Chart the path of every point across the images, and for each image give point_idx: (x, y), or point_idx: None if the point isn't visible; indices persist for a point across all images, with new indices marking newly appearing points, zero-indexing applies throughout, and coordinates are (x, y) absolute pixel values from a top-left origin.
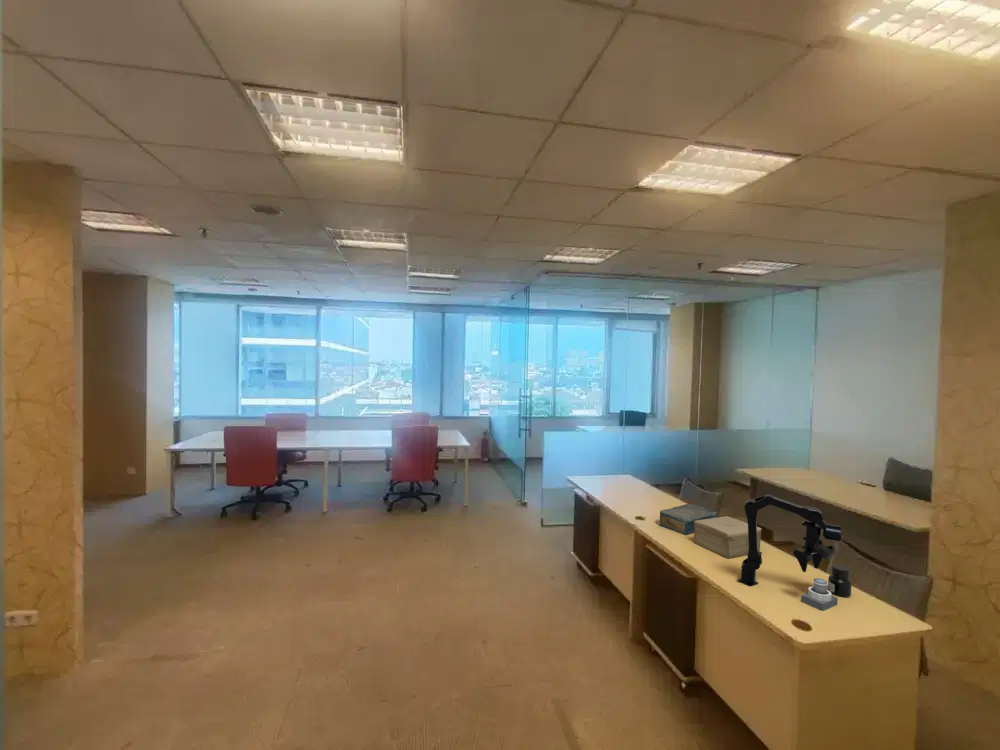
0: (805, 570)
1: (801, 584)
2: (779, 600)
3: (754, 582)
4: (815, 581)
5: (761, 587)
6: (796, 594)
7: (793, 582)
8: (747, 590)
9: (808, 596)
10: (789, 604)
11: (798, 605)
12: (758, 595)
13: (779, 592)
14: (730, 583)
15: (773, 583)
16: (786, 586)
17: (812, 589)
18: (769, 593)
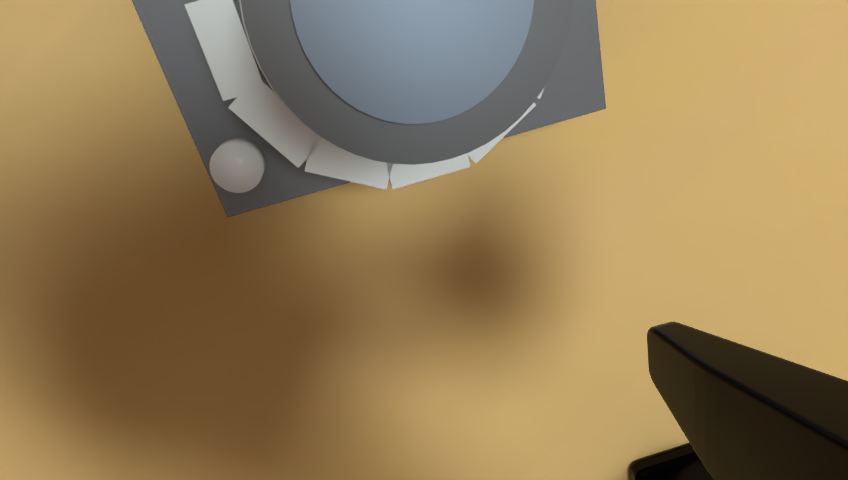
0: (715, 342)
1: (194, 431)
2: (759, 166)
3: (681, 470)
4: (569, 15)
5: (664, 407)
6: (456, 250)
7: (253, 471)
8: (830, 371)
9: None
10: (750, 66)
11: (679, 20)
12: (838, 284)
13: (595, 310)
14: None
15: (483, 462)
16: (407, 406)
17: None
18: (707, 304)
